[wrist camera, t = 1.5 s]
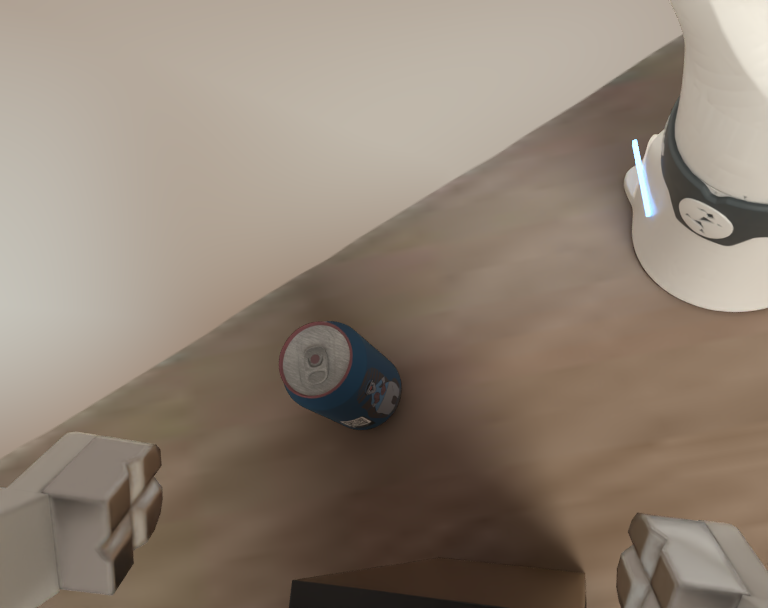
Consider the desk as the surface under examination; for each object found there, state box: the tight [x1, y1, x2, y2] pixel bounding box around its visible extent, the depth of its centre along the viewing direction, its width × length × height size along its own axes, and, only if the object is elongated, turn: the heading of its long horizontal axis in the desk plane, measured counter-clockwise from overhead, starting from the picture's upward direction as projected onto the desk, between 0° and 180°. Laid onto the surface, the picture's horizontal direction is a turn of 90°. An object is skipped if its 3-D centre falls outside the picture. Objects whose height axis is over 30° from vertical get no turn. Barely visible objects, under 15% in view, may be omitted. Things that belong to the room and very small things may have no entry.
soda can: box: [279, 321, 401, 430], centre depth 48 cm, size 7×7×12 cm
